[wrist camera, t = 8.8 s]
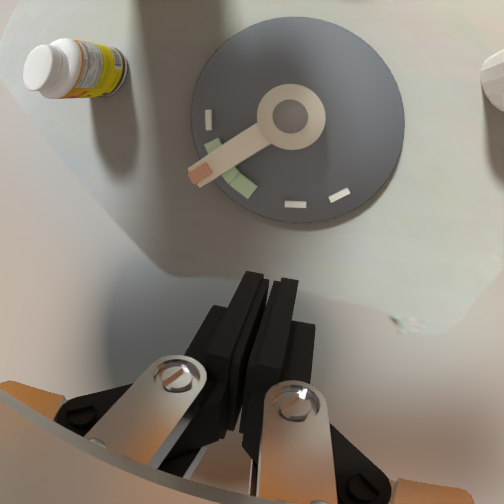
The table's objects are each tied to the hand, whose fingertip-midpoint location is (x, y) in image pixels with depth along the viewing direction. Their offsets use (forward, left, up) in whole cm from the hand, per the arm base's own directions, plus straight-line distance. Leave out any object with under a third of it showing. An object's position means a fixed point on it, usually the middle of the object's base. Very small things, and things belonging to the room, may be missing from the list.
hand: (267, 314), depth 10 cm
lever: (-6, -1, -18) cm, 19 cm away
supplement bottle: (-21, -10, -20) cm, 30 cm away
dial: (-6, +3, -19) cm, 20 cm away
